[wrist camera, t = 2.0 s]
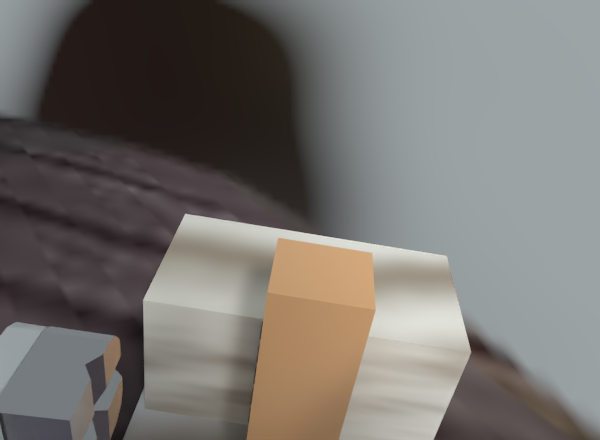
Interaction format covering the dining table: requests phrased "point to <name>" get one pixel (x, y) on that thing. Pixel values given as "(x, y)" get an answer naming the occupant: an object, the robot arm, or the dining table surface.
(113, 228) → the dining table surface
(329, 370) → the tan rectangular block
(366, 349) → the block
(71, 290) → the dining table surface
